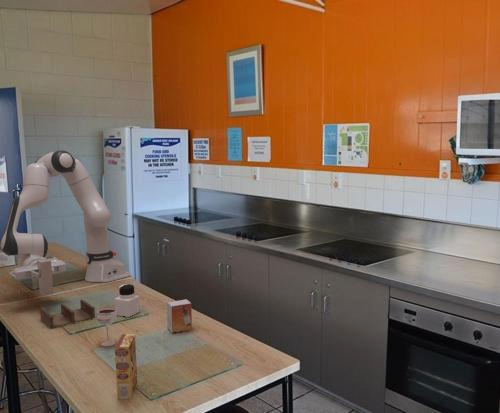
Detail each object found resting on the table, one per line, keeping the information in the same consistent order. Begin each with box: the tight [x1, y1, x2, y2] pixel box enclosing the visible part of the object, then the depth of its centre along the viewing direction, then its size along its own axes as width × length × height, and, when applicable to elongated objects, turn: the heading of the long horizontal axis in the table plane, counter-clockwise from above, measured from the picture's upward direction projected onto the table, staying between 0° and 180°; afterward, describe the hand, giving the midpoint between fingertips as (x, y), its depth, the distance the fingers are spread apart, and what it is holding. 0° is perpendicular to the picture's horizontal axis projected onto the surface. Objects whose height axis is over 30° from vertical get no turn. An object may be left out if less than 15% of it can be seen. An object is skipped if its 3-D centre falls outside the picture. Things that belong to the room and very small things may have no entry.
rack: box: [39, 299, 96, 330], centre depth 190 cm, size 17×13×4 cm
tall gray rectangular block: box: [37, 259, 54, 297], centre depth 197 cm, size 4×5×14 cm
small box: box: [166, 299, 193, 334], centre depth 179 cm, size 8×6×10 cm
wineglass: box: [96, 306, 118, 347], centre depth 167 cm, size 7×7×12 cm
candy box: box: [114, 333, 138, 401], centre depth 134 cm, size 9×4×15 cm, turn 3°
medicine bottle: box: [114, 283, 140, 318], centre depth 195 cm, size 7×7×12 cm
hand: (45, 274), depth 196 cm, fingers closed on tall gray rectangular block, 4 cm apart
